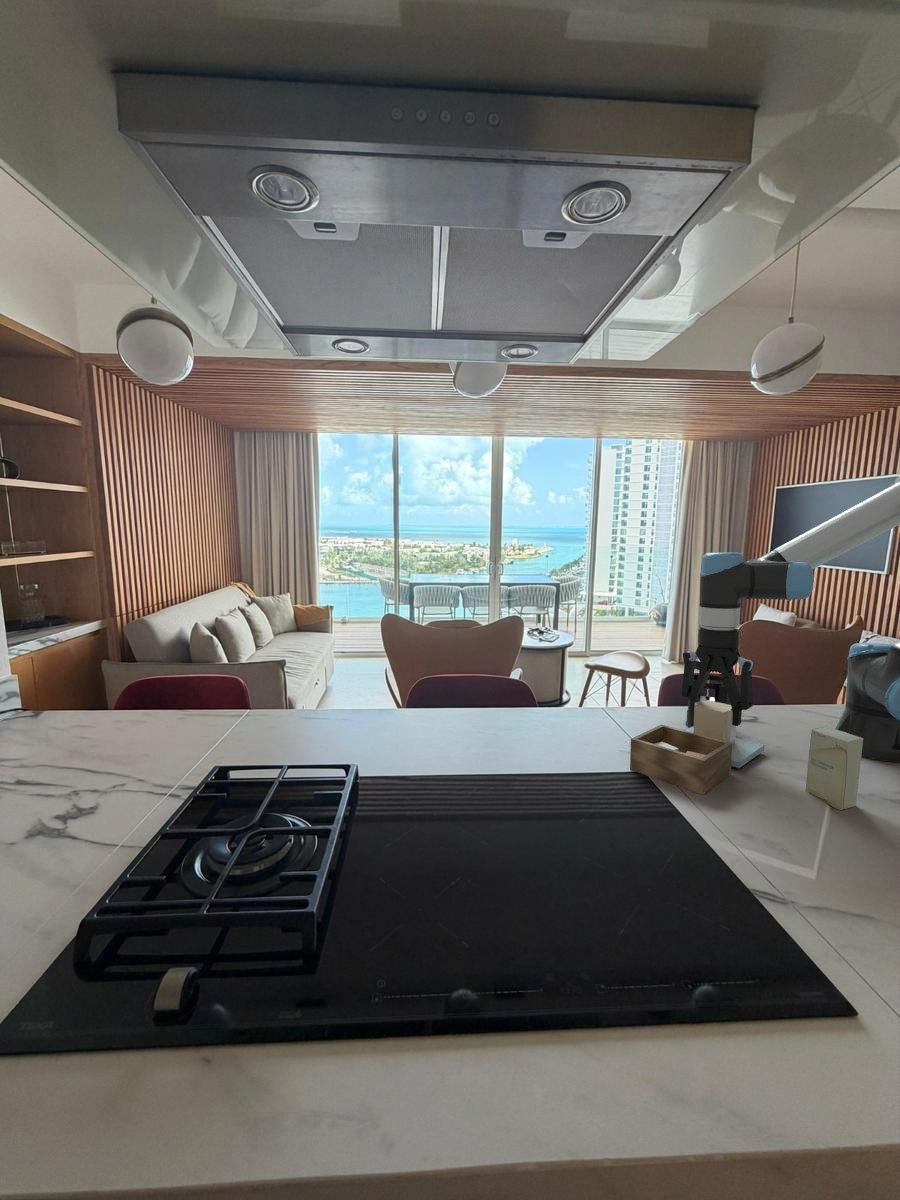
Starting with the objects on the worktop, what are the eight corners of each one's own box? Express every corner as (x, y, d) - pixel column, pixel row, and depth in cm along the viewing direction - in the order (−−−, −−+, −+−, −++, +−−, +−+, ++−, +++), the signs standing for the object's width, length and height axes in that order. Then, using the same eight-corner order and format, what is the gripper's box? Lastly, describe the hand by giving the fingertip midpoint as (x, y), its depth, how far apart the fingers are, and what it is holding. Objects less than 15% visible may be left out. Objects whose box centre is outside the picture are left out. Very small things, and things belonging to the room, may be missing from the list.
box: (730, 778, 99) (732, 743, 98) (702, 799, 91) (704, 760, 91) (660, 756, 110) (661, 724, 109) (629, 773, 102) (630, 738, 101)
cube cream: (677, 768, 102) (678, 748, 102) (663, 772, 100) (663, 752, 100) (661, 760, 106) (662, 741, 105) (647, 764, 104) (647, 745, 104)
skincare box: (804, 795, 92) (808, 728, 91) (821, 790, 94) (825, 725, 93) (842, 811, 87) (847, 741, 85) (859, 806, 88) (864, 737, 87)
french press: (676, 720, 132) (679, 630, 130) (712, 718, 133) (715, 629, 130) (702, 736, 120) (706, 639, 118) (741, 735, 121) (745, 638, 119)
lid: (764, 750, 108) (766, 707, 108) (739, 768, 100) (741, 722, 99) (692, 731, 120) (693, 692, 119) (664, 746, 112) (665, 704, 111)
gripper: (776, 630, 102) (770, 743, 105) (681, 620, 117) (678, 720, 119) (762, 635, 98) (756, 753, 100) (665, 624, 112) (662, 727, 114)
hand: (714, 735), depth 110 cm, fingers closed on lid, 6 cm apart
